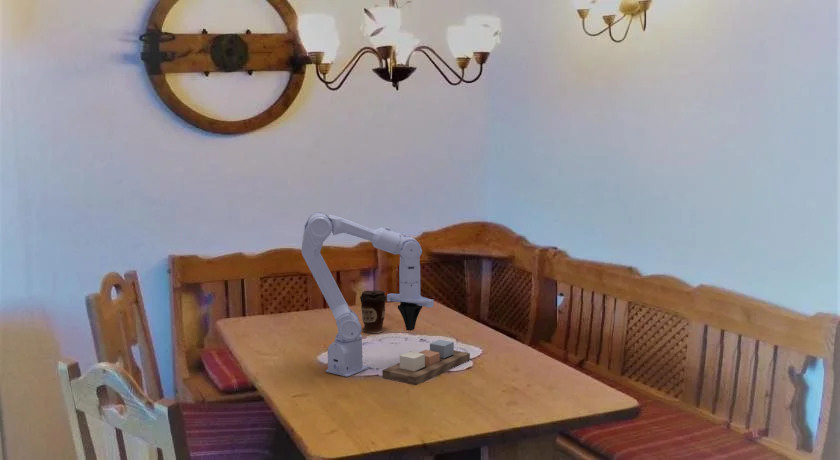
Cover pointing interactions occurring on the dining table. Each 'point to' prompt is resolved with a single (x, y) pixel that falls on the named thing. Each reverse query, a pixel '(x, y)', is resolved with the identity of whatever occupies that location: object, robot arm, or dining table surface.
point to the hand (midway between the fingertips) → (410, 329)
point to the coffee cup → (373, 310)
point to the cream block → (412, 361)
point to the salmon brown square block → (431, 357)
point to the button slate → (442, 348)
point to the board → (425, 369)
